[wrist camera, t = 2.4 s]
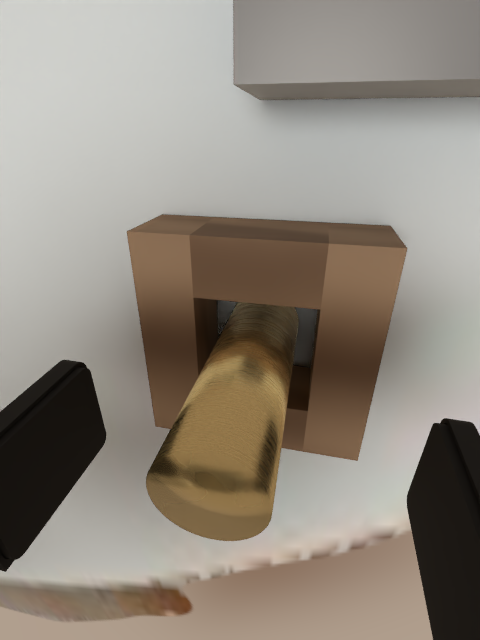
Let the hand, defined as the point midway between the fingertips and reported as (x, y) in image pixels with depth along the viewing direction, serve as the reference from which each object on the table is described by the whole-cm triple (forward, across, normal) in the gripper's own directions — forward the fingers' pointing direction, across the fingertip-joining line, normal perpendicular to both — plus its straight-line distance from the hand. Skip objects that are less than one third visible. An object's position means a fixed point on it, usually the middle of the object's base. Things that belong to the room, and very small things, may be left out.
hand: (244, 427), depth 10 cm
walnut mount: (+7, +1, 0) cm, 7 cm away
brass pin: (+7, +1, 0) cm, 7 cm away
